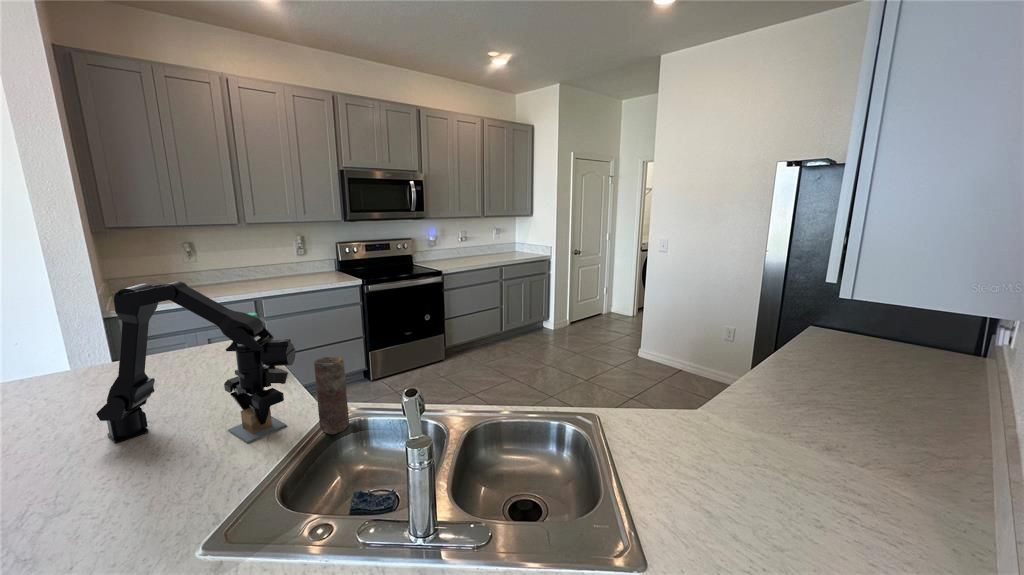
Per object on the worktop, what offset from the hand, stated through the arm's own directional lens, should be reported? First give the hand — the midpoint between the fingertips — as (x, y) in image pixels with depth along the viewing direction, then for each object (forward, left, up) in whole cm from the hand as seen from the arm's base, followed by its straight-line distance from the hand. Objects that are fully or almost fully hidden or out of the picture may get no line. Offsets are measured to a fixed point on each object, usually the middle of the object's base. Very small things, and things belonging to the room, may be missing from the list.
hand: (256, 420), depth 109 cm
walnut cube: (0, 0, -2) cm, 2 cm away
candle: (+12, -16, -3) cm, 20 cm away
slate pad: (0, 0, -2) cm, 2 cm away
